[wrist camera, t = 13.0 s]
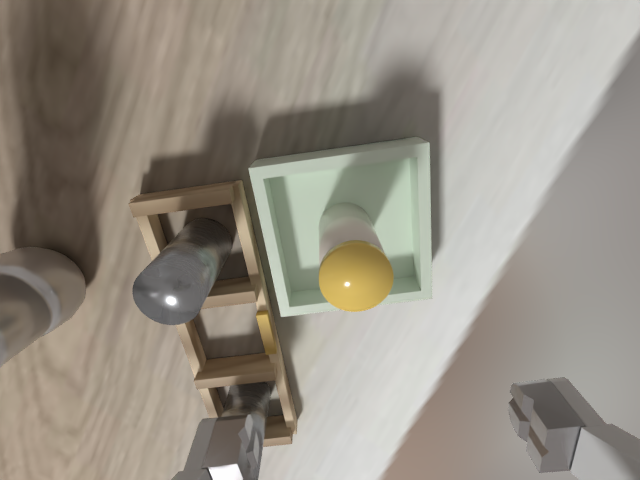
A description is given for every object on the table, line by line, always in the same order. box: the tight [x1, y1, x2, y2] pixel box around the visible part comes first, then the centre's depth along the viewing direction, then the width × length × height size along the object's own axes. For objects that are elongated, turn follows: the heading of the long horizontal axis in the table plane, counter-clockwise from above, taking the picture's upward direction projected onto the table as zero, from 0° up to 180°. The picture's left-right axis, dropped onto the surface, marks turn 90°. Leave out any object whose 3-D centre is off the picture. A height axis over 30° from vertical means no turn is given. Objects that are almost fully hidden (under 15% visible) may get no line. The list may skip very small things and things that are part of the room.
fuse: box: [318, 202, 394, 312], centre depth 23 cm, size 4×4×8 cm
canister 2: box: [221, 382, 271, 480], centre depth 31 cm, size 4×4×8 cm
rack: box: [129, 180, 297, 447], centre depth 30 cm, size 25×8×2 cm, turn 8°
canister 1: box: [133, 218, 232, 325], centre depth 24 cm, size 4×4×8 cm
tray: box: [248, 137, 432, 317], centre depth 26 cm, size 12×12×3 cm
